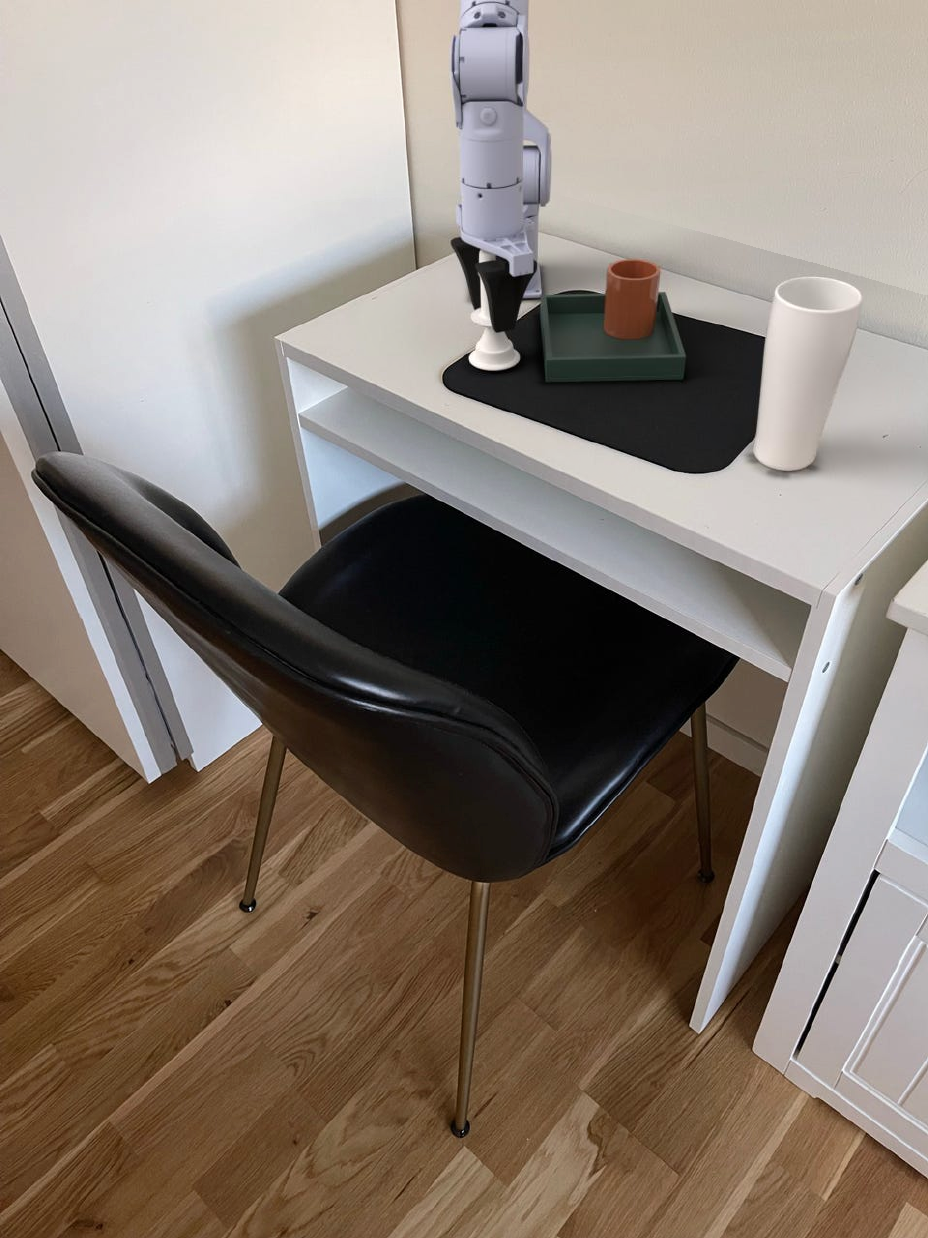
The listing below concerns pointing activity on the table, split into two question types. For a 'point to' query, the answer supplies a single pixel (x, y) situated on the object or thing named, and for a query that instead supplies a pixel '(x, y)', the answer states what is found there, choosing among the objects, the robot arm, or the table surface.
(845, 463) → the table surface
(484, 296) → the candle
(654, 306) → the cup
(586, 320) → the tray
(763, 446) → the drinking glass
